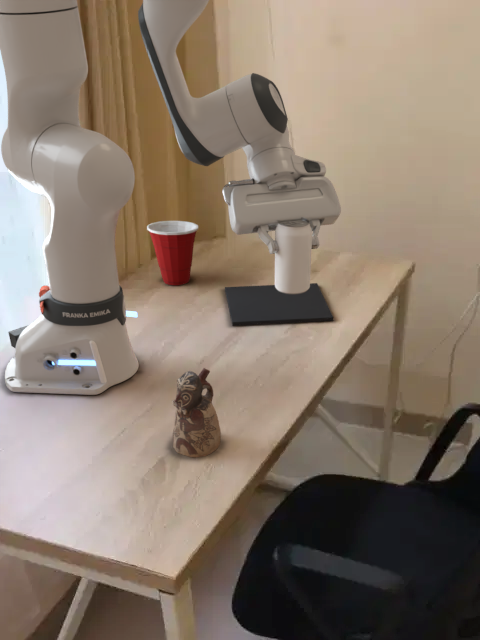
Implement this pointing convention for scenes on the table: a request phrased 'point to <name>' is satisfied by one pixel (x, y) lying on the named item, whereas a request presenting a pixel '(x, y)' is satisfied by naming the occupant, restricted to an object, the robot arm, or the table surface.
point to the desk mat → (275, 305)
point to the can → (293, 256)
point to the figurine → (195, 416)
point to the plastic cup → (174, 249)
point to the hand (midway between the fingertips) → (295, 249)
